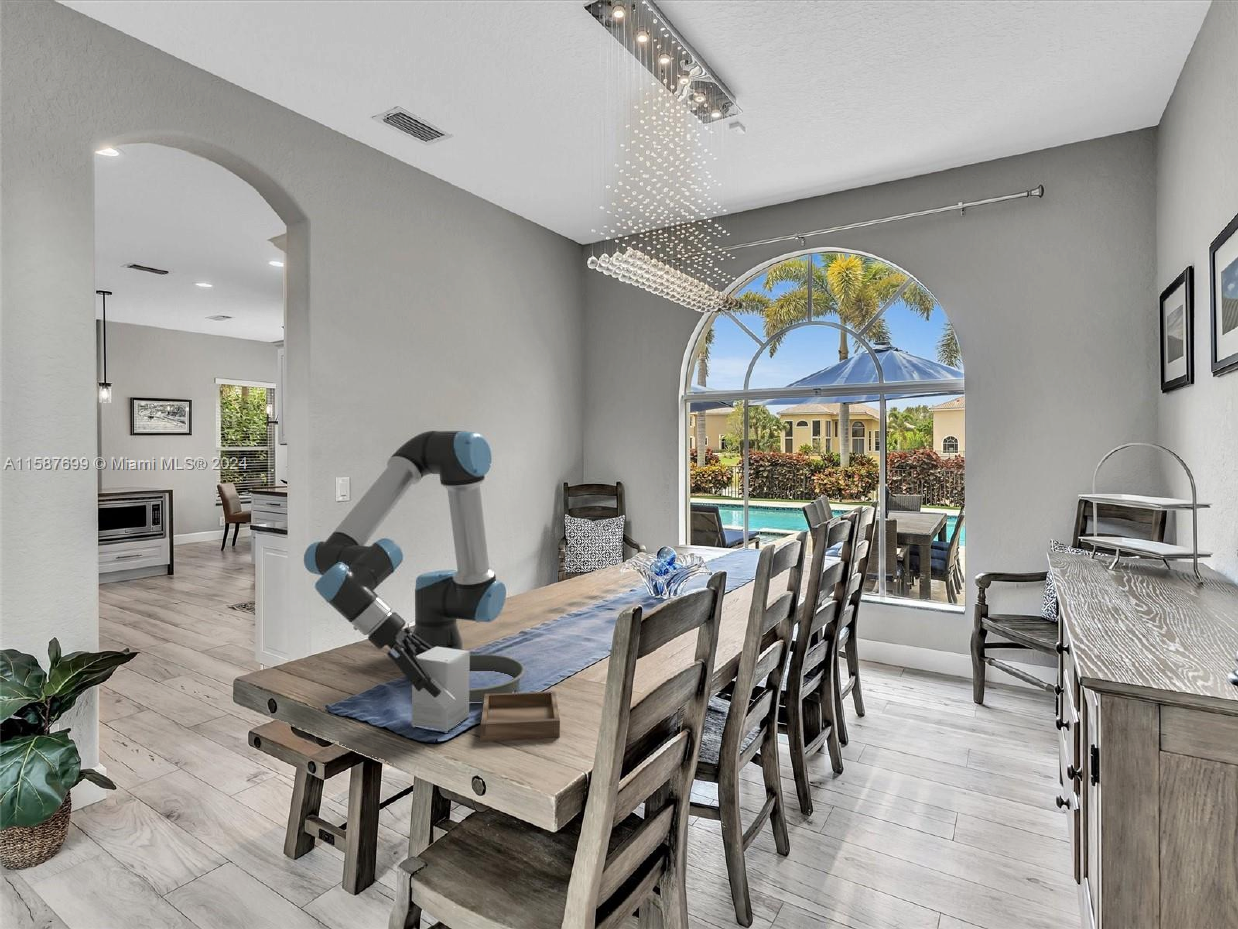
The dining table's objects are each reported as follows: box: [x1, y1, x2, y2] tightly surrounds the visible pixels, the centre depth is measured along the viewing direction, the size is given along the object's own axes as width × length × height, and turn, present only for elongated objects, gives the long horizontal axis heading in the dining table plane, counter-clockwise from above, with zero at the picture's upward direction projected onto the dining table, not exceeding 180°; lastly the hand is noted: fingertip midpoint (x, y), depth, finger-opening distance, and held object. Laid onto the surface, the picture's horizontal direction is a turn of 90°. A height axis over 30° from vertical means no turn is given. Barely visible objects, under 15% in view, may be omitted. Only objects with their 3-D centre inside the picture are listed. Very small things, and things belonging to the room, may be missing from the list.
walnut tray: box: [480, 690, 561, 742], centre depth 138 cm, size 16×16×4 cm
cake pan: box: [469, 653, 526, 702], centre depth 158 cm, size 25×25×4 cm
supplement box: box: [411, 646, 471, 731], centre depth 137 cm, size 9×9×15 cm
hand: (453, 692), depth 137 cm, fingers closed on supplement box, 12 cm apart
